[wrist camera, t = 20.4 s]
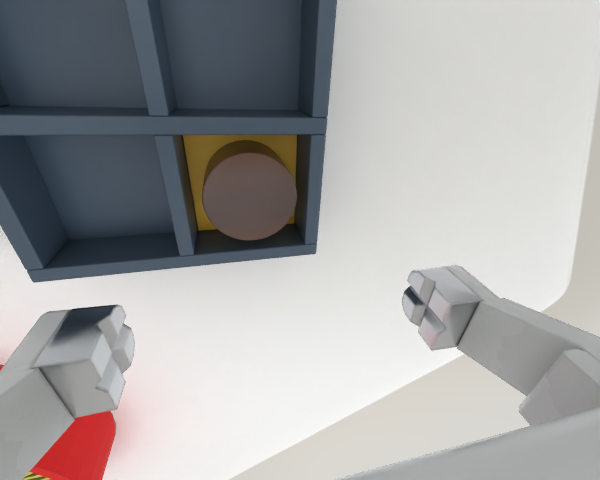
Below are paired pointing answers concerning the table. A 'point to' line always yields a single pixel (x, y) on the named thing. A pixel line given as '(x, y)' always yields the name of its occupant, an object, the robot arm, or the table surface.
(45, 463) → the toy clock
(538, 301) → the table surface
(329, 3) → the grid
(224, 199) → the cylinder
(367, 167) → the table surface
